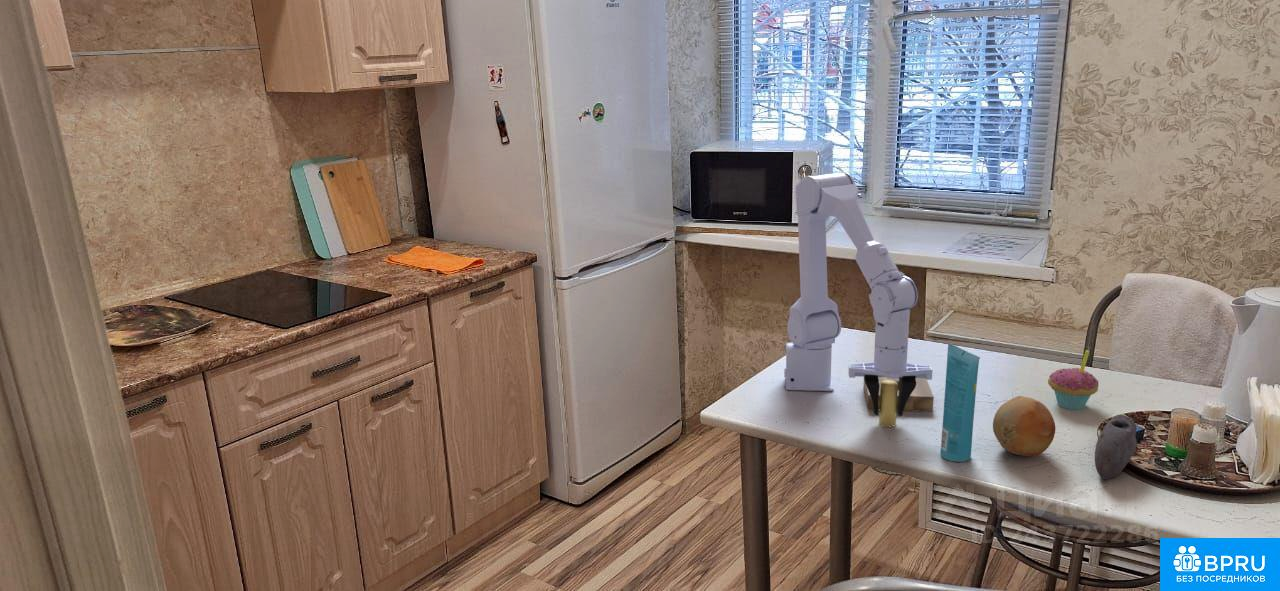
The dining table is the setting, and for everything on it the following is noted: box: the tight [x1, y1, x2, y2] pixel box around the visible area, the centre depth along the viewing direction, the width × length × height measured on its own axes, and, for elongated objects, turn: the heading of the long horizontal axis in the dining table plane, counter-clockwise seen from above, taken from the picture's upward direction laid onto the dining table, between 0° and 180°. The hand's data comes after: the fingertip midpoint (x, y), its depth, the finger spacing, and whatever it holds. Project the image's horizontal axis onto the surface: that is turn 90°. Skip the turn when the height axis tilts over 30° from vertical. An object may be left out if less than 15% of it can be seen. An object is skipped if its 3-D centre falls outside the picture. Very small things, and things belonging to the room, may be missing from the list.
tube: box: [940, 342, 981, 463], centre depth 146 cm, size 7×5×19 cm, turn 26°
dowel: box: [878, 380, 898, 427], centre depth 160 cm, size 3×3×8 cm
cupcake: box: [1047, 346, 1099, 411], centre depth 164 cm, size 9×8×12 cm
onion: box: [992, 395, 1056, 457], centre depth 147 cm, size 10×10×10 cm
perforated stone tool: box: [1094, 414, 1138, 480], centre depth 142 cm, size 15×5×7 cm, turn 140°
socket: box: [862, 377, 935, 412], centre depth 171 cm, size 12×10×3 cm
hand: (887, 413), depth 161 cm, fingers open, 4 cm apart
